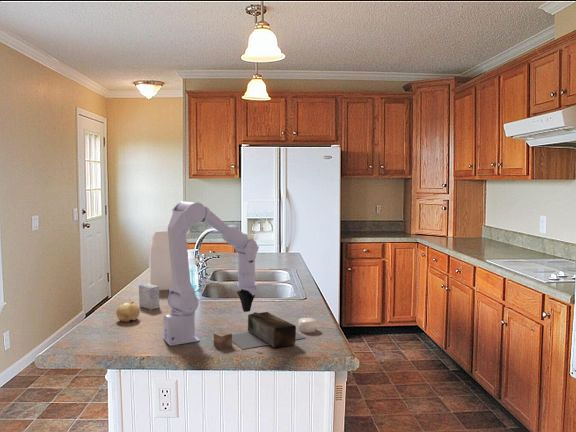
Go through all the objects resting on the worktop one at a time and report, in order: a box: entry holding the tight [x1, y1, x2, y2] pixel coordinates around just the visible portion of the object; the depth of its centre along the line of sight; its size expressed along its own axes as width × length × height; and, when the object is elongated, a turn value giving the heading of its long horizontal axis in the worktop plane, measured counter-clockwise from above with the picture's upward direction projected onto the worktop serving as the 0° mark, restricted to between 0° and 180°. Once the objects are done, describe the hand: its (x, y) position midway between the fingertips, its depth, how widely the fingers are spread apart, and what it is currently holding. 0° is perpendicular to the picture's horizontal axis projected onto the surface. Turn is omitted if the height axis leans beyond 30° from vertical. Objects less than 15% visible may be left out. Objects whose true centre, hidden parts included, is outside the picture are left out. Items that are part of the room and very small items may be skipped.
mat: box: [232, 331, 306, 350], centre depth 165 cm, size 22×14×1 cm, turn 119°
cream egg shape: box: [298, 317, 317, 334], centre depth 172 cm, size 6×6×4 cm
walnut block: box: [213, 330, 233, 350], centre depth 156 cm, size 4×4×4 cm
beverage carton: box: [247, 311, 297, 348], centre depth 163 cm, size 8×19×7 cm, turn 30°
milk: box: [148, 230, 173, 291], centre depth 234 cm, size 12×12×26 cm
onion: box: [115, 299, 140, 323], centre depth 182 cm, size 8×8×7 cm
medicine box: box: [138, 283, 160, 311], centre depth 200 cm, size 8×4×9 cm, turn 47°
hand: (246, 311), depth 177 cm, fingers closed
